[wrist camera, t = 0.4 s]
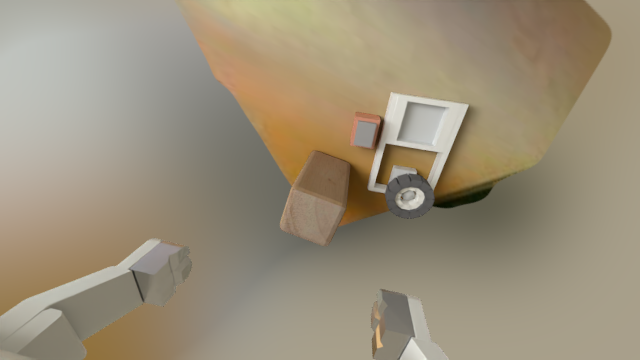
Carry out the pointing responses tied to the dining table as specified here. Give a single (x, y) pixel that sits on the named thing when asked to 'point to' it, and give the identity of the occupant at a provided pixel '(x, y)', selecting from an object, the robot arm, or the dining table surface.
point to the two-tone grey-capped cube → (365, 130)
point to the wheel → (415, 205)
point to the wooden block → (317, 199)
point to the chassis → (418, 133)
